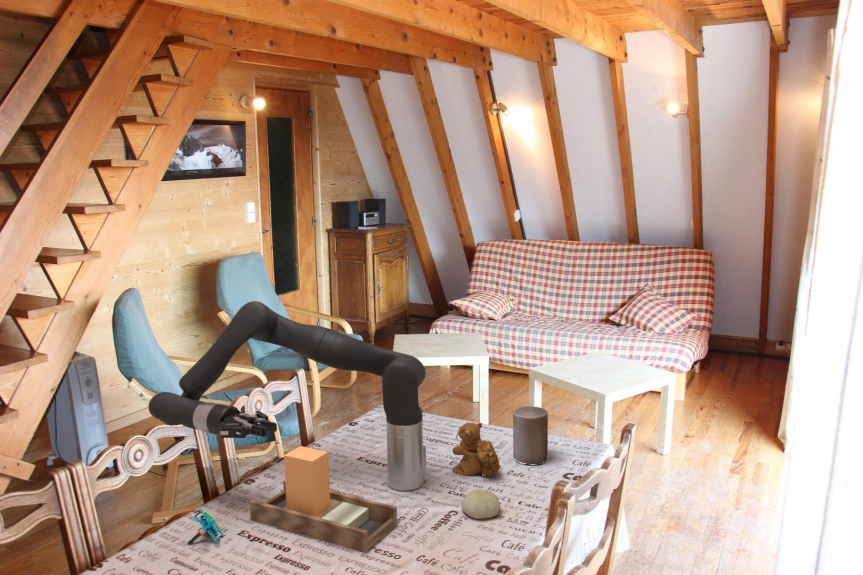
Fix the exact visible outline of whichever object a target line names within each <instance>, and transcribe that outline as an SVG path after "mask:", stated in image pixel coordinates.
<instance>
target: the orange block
mask: <svg viewBox="0 0 863 575" xmlns="http://www.w3.org/2000/svg"><path fill="white" fill-rule="evenodd" d="M283 460H284V461H283V463H284V479H285V485H286V505H287V509H291V510H294V511H298V512H302V513H305V514H309V515H313V516H315V515H317V514H318V513H319V512H321V511H322V510H324V509H325V508H326V507H328V506H329V505H330V491H331V488H330V487H331V486H330V464H329V462H330V461H329V451H325V450H320V449H316V448H311V447H306V446H301V445H300V446H299V447H296V448H294V449H292V450H291V451H288V453H286V454H285V453H284V455H283Z"/></svg>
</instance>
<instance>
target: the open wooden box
mask: <svg viewBox="0 0 863 575" xmlns="http://www.w3.org/2000/svg"><path fill="white" fill-rule="evenodd" d="M282 484H283V490H282V491H281V492H279V493H278V494H276V495H275V496H273V497H271V498H270V499H268V500H267V501H265V502H263V501H258V500H253V499H251V500H250V501H249V514H250V515H249V516H250V518H249V520H251V521H255V522H258V523H261V524H264V525H267V526H271V527H275V528H278V529H281V530H286V531H289V532H292V533H296V534H299V535H303V536H307V537H310V538H314V539H315V540H316V539H317V540H320V541H324V542H328V543H330V544H334V545H337V546H341V547H345V548H348V549H351V550H355V551H358V552H362V553H365V554H366V553H367V552H369V550H371V549H372V548H373V547H374V546H375V545H377V544H378V543H380V541H381V540H383V538H385V537H386V536H387V535H388V534H389V533H390V532H392V531H393V529H395V528H396V527H397V526H398V508H397V507H398V506H395V505H391V504H386V503H383V502H379V501H376V500H375V501H374V500H371V499H367V498H362V497H358V496H354V495H349V494H346V493H342V492H339V491H338V492H337V491H335V490H334V491H333V490H330V505H329V506H328V507H326V508H325V509H324V510H322V511H321V512H319V513H318V514H317V515H315V516H313V515H309V514H305V513H302V512H298V511H294V510H291V509H287V505H286V485H285V480H283V481H282Z"/></svg>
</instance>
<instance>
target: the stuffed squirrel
mask: <svg viewBox="0 0 863 575" xmlns="http://www.w3.org/2000/svg"><path fill="white" fill-rule="evenodd" d="M482 426H483V423H482V422H478V423H475V422H467V423H463V424H462V425H461V426H460V427H459V429H458V432H457V433H456V436H455V440H456V441H458V440H459V439H458V436H459V438H460V439H461V440H460V442H459V445H456V446H454V447H453V448H452V453H453V455H455V456H462V458H461V460H460V461H459V464H458V465H457V464H456V465H454V466H453V467H452V469H451V471H452V473H454V472H455V474H457V473H459V474H458V475H461V474H463V475H462V476H465V475H470V476H476V475H475V474H477V475H481V474H483V475H486V476H485V477H487V476H488V477H490V476H493V475H495V474H497V473H498V472H499V471H500V469H501V467H502V466H501V465H500V459H499V457H498V454H497V451H495V447H494V445H493V443H492V441H490V440H486V439H483V440H482V438H481V428H482ZM479 473H480V474H479ZM489 475H490V476H489Z"/></svg>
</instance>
